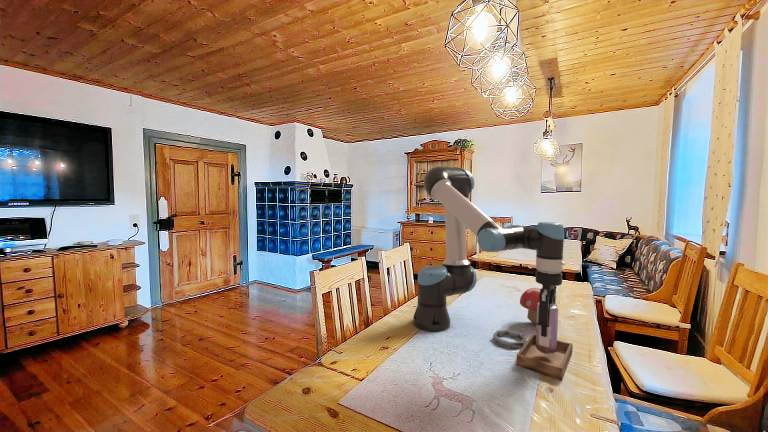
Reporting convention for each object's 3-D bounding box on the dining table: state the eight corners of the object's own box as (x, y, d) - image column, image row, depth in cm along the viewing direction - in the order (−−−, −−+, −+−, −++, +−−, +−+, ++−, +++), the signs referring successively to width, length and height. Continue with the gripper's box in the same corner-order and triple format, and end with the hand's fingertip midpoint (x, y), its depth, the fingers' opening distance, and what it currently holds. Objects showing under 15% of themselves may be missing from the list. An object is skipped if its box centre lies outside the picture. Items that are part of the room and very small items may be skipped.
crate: (516, 365, 99) (516, 354, 99) (531, 342, 114) (532, 333, 114) (562, 380, 91) (562, 368, 91) (572, 353, 107) (572, 343, 106)
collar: (490, 342, 114) (490, 337, 114) (499, 332, 123) (499, 328, 123) (520, 351, 108) (520, 346, 108) (528, 340, 116) (528, 335, 116)
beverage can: (557, 348, 103) (558, 303, 102) (555, 356, 98) (557, 309, 97) (536, 344, 106) (538, 300, 106) (534, 351, 101) (536, 305, 100)
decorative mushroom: (523, 329, 126) (524, 292, 125) (515, 316, 139) (516, 283, 138) (560, 332, 123) (561, 294, 122) (548, 319, 136) (550, 284, 135)
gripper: (556, 278, 91) (553, 357, 93) (567, 267, 106) (564, 334, 107) (528, 274, 96) (526, 349, 97) (542, 264, 110) (540, 329, 112)
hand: (546, 341), depth 102 cm, fingers closed on beverage can, 6 cm apart
